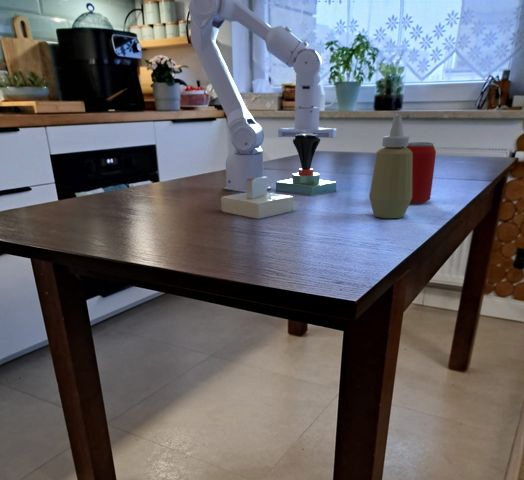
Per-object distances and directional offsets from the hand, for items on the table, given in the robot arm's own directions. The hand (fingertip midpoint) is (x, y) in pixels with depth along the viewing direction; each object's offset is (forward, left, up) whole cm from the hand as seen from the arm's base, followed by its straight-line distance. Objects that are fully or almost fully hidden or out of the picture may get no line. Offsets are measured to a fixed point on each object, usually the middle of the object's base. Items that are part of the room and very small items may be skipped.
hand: (306, 169), depth 127 cm
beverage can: (+28, +4, -5) cm, 29 cm away
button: (0, 0, -2) cm, 2 cm away
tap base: (+9, -26, -5) cm, 28 cm away
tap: (+9, -26, -2) cm, 27 cm away
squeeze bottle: (+32, -12, -5) cm, 35 cm away
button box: (0, 0, -5) cm, 5 cm away
